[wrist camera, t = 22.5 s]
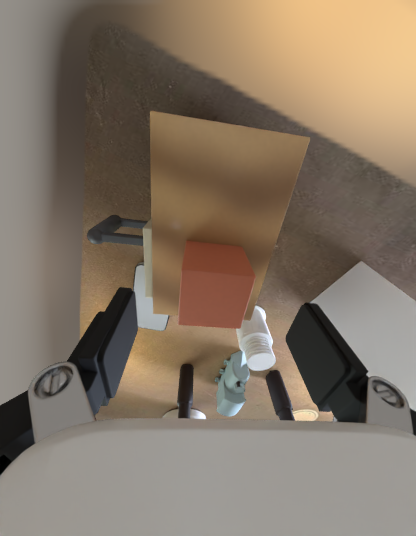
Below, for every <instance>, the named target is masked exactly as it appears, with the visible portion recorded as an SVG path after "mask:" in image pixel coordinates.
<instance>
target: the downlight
mask: <svg viewBox="0 0 416 536" xmlns="http://www.w3.org/2000/svg"><path fill="white" fill-rule="evenodd" d="M265 319H266V314H265V311H264V310H263V309H262V308H261V307H259V306H256V305H255V308H254V312H253V315H252V318H251V320H250V321H247V320H243V322H242V325H241V328H240V329H236V332H237V337H238V341H239V346H240V349H241V351H243V352H244V353H245V357H246V362H247V366H248V367H249V368H250V369H252V370H255V371H262V370H266V369H269V368H271V367H272V366H273V365H274V364H275V362H276V358H275V356H274V353H273V350H272V348H271V346H272V344H273V340H272V337H271V335H270V332H269V330H268V327H267V325H266V322H265Z"/></svg>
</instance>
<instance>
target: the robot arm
mask: <svg viewBox="0 0 416 536" xmlns="http://www.w3.org/2000/svg"><path fill="white" fill-rule="evenodd" d="M137 331H138V321H137V308H136V296H135V291H132V289H131V288H122V287H120V288H119V289H118V290H117V292H116V294H115V295H114V297H113V299H112V300H111V302H110V304H109V305H108V307H107V309H106V310H105V312H101V311H100V312H98V313H97V315H96V316H95V318H94V319H93V321H92V322H91V324H90V326H89V327H88V329H87V330H86V332H85V334H84V335H83V337H82V338H81V340H80V341H79V343H78V345H77V346H76V348H75V350H74V351H73V352H72V354H71V356H70V357H69V359H68V360H67V362H58V363H55V364H53V365H50V366H48V367H47V368H45V369H43V370H42V371H41V372H40V373H38V374H37V375H36V376H35V378H34V379H33V380H32V382H31V384H30V386H29V389H28V390H27V391H25V392H24V393H22V394H20V395H18V396H17V397H15V398H13V399H11V400H9V401H8V402H6V403H4V404H2V405H0V536H416V411H414V410H412V409H411V408H410V407H409V403H408V400H407V399H406V397H405V396H404V394H403V393H402V392H401V391H400V390H399V389H398V388H397V387H396V386H395V385H394V384H392V383H391V382H389V381H388V380H386V379H384V378H382V377H378V376H371V377H368V376H367V373H368V372H369V371H368V370H367V369H366V367H365V366H364V365H363V363H362V362H361V361H360V359H359V358H358V357H357V355H356V354H355V353H354V351H353V350H352V349H351V348H350V346H349V345H348V344H347V342H346V341H345V340H344V338H343V337H342V336H341V334H340V333H339V332H338V330H337V329H336V328H335V326H334V325H333V324H332V322H331V321H330V320H329V319H328V317H327V316H326V315H325V313H324V312H323V311H322V309H321V308H320V307H319V305H318V304H316V303H305V304H304V305H302V306H301V307H300V309H299V311H298V313H297V315H296V317H295V319H294V321H293V323H292V325H291V327H290V329H289V331H288V333H287V335H286V342H287V345H288V347H289V349H290V351H291V354H292V356H293V358H294V360H295V363H296V365H297V367H298V369H299V372H300V374H301V376H302V378H303V381H304V383H305V385H306V387H307V390H308V392H309V394H310V396H311V399H312V401H313V402H314V403H315V404H316V405H317V407H318V409H319V411H323V412H330V411H332V413H333V415H334V417H333V422H327V421H289V420H244V419H187V418H122V419H105V420H98V421H96V418H95V414H96V413H98V411H99V408H100V406H107V405H108V402H109V400H110V398H114V396H115V394H116V391H117V389H118V386H119V383H120V380H121V377H122V374H123V371H124V369H125V366H126V363H127V360H128V357H129V354H130V351H131V348H132V346H133V343H134V340H135V337H136V334H137Z"/></svg>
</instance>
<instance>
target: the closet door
mask: <svg viewBox="0 0 416 536" xmlns="http://www.w3.org/2000/svg"><path fill="white" fill-rule="evenodd" d="M121 226H122V227H131V228H140V229H143V236H139V235H129V234H120V233H114V232H115V231H116V230H117V229H119V228H120V227H121ZM87 237H88V240H89V241H90V242H92V243H94V244H101V243H103V242H111V243H121V244H131V245H140V246H144V271H145V297H146V298H153V285H152V219H150V220H149V221H141V220H132V219H123V218H120V217H119V216H118V215H111V216H110V217H108V218H107V219H105V220H104V221H102V222H101V223H99V224H98V225H96V226H95V227H93V228H92V229H90V230H89V231H88V233H87Z"/></svg>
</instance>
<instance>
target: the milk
mask: <svg viewBox="0 0 416 536" xmlns="http://www.w3.org/2000/svg"><path fill="white" fill-rule="evenodd" d="M310 303H316V304H318V305H319V307H320V308H321V309H322V311H323V312H324V313H325V315H326V316H327V317H328V319H329V320H330V321H331V322H332V324H333V325H334V326H335V328H336V329H337V330H338V332H339V333H340V334H341V336H342V337H343V338H344V340H345V341H346V342H347V344H348V345H349V346H350V348H351V349H352V350H353V351H354V353H355V354H356V355H357V357H358V358H359V359H360V361H361V362H362V363H363V365H364V366H365V367H366V369H367V370H368V371H369V372H368V373H367V376H368V377H371V376H378V377H382V378H384V379H386V380H388V381H389V382H391V383H392V384H394V385H395V386H396V387H397V388H398V389H399V390H400V391H401V392H402V393H403V394H404V396H405V397H406V399H407V400H408V403H409V407H410V408H411V409H412V410H414V411H416V301H415V300H413V299H412V298H411V297H409V296H408V295H407V294H405V293H404V292H403V291H401V290H400V289H399V288H397V287H396V286H395V285H393V284H392V283H391V282H389V281H388V280H386V279H385V278H384V277H382V276H381V275H380V274H378V273H377V272H376V271H374V270H373V269H372V268H370V267H369V266H368V265H366V264H365V263H364V262H362V261H360V262H359V263H358V264H357V265H355V266H354V267H353V268H352V269H350V270H349V271H348V272H347V273H345V274H344V275H343V276H342V277H341V278H339V279H338V280H337V281H336V282H334V283H333V284H332V285H331V286H330V287H328V288H327V289H326V290H325V291H323V292H322V293H321V294H320V295H319V296H317V297H316V298H315V299H314V300H312V301H311V302H310Z"/></svg>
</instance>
